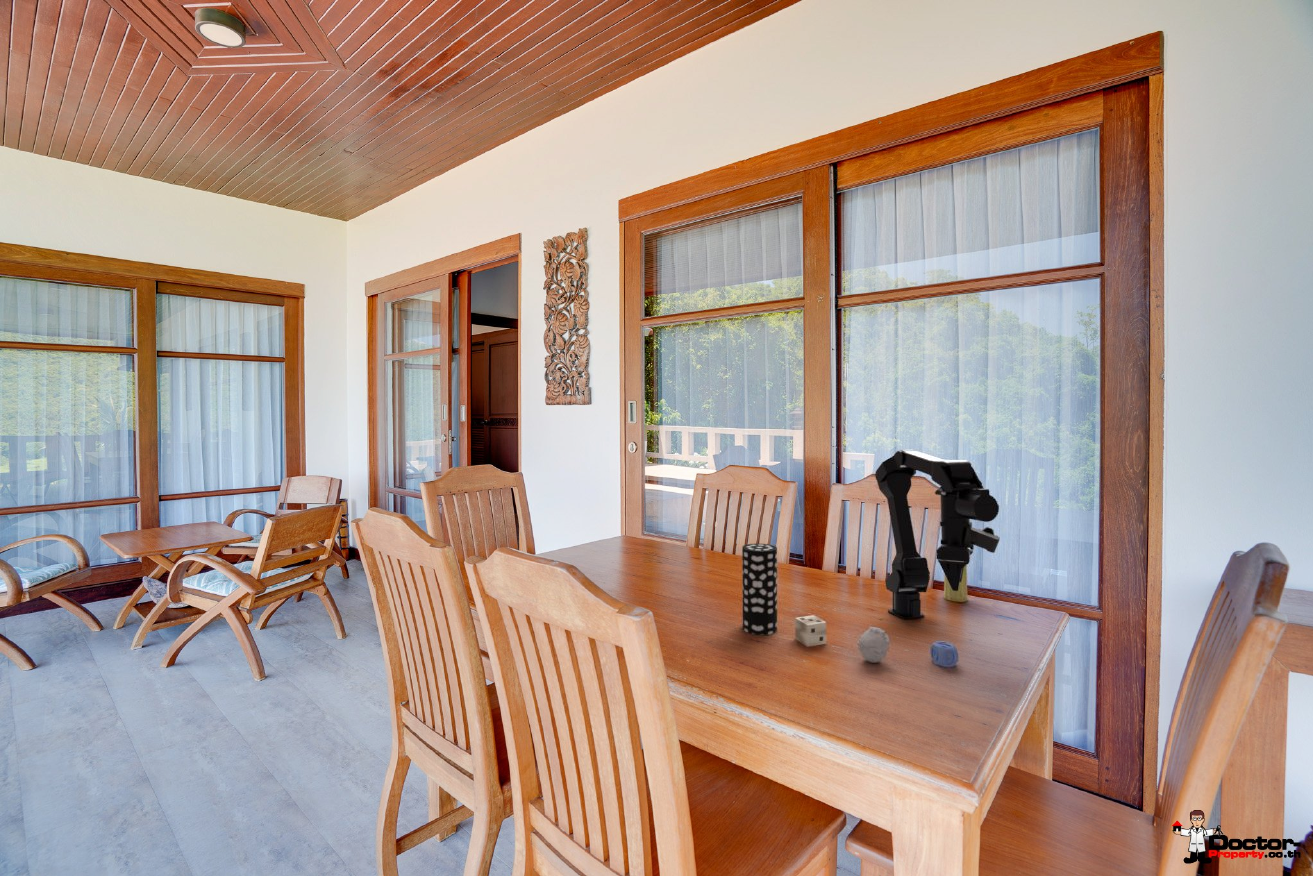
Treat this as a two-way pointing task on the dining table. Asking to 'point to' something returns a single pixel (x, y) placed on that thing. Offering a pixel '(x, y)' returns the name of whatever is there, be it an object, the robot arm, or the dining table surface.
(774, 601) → the white-spotted black cylinder
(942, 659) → the decorative dice
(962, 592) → the vase
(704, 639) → the dining table surface
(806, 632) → the birch pip block
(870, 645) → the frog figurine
